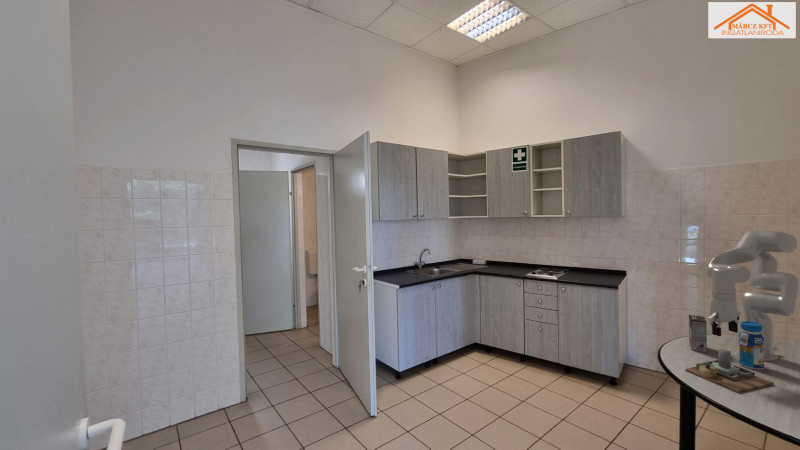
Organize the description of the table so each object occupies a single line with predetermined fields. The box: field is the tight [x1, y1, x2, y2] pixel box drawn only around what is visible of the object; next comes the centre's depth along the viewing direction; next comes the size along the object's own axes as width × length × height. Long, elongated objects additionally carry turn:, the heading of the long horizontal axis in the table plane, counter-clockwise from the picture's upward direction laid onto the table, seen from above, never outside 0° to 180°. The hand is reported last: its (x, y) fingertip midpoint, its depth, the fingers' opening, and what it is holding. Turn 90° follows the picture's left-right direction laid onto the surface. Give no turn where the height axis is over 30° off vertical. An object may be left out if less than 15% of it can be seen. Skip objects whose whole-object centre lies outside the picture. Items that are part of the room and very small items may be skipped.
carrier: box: [685, 359, 775, 394], centre depth 147 cm, size 20×20×6 cm
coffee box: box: [688, 314, 708, 353], centre depth 177 cm, size 9×6×16 cm
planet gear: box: [710, 349, 739, 376], centre depth 151 cm, size 9×9×9 cm
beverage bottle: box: [737, 320, 765, 371], centre depth 156 cm, size 8×8×20 cm
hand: (724, 333), depth 151 cm, fingers open, 9 cm apart
